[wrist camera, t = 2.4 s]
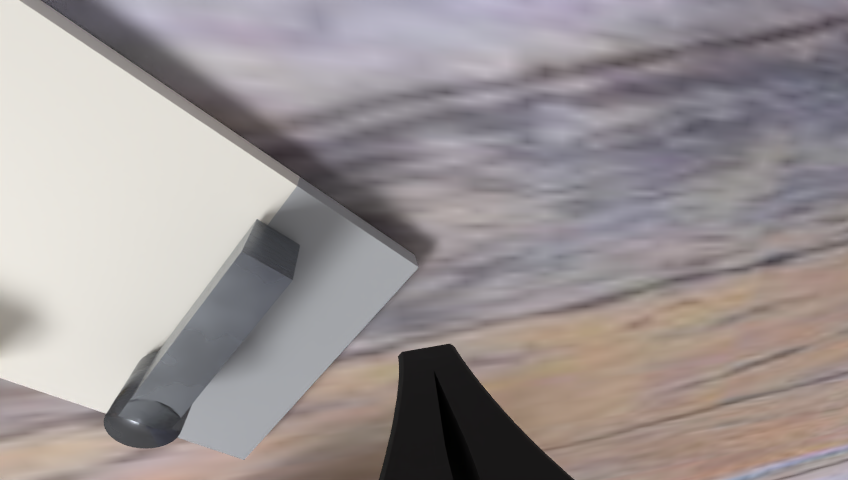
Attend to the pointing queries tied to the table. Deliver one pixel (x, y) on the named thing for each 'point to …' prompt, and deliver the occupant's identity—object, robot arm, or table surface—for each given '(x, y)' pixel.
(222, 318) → the swing bar
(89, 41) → the door board
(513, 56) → the table surface
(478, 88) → the table surface
